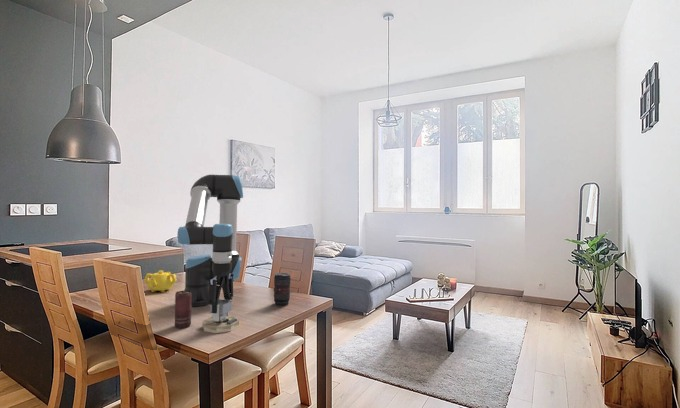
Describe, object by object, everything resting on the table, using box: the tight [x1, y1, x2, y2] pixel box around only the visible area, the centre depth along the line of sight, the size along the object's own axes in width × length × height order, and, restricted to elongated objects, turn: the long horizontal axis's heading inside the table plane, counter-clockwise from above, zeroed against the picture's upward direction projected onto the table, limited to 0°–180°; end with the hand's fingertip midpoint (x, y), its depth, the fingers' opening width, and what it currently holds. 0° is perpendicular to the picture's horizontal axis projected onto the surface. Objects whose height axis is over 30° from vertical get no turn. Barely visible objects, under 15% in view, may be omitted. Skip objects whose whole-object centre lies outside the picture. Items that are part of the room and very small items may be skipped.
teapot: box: [143, 270, 178, 293], centre depth 201 cm, size 20×18×11 cm
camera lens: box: [273, 272, 292, 307], centre depth 181 cm, size 8×8×15 cm
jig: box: [201, 315, 240, 334], centre depth 147 cm, size 13×13×3 cm
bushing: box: [209, 298, 233, 324], centre depth 147 cm, size 6×6×9 cm
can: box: [174, 290, 192, 329], centre depth 147 cm, size 6×6×14 cm
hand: (220, 318), depth 147 cm, fingers open, 6 cm apart
